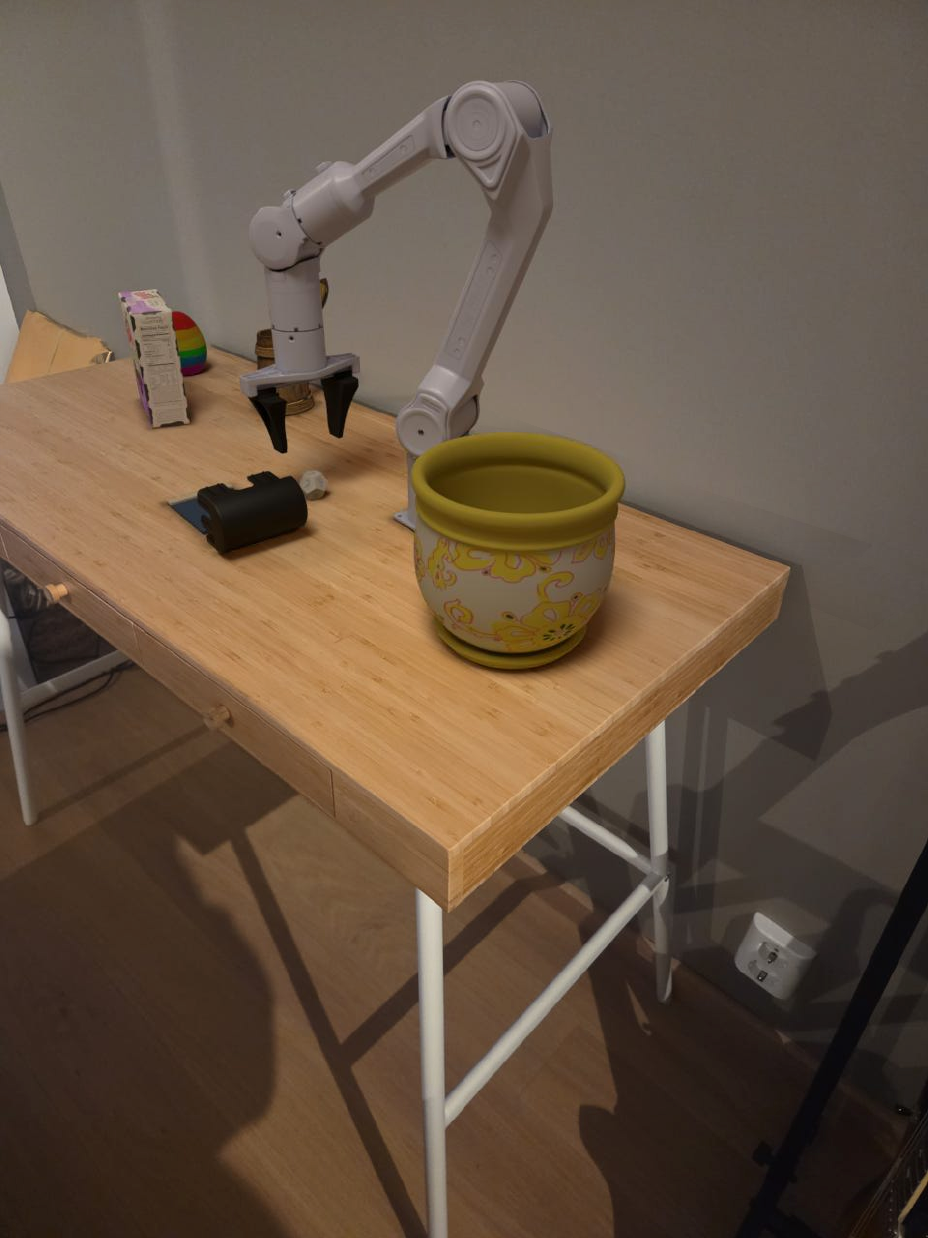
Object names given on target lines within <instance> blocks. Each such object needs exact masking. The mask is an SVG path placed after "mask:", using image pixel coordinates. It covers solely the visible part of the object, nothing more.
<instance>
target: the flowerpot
mask: <svg viewBox="0 0 928 1238" xmlns="http://www.w3.org/2000/svg"><path fill="white" fill-rule="evenodd" d="M410 478H411V485H412V488H413V490H414V492H415V494H416V497H415V508H416V511H417V516H416V523H415V531H414V530H413V531H414V532H413V565H414V572H415V577H416V578H415V579H416V581H417V585H418V588H419V591H420V593H421V596H422V598H423V600H424V602H425V604H426V605H427V607H428V609H429V610H430V611H431V613H432V614H433V625H434V628H435V631H436V633H437V635H438V636H439V637H440V639H441V640H442V641H443V642H444V643H445V644H446V645H448V646H449V647H450V648H451V649H453V651H454V652H455V653H457V654H458V655H460V656H462V657H463V658H465V659H467V660H468V661H471V662H473V663H476V664H478V665H481V666H485V667H488V668H494V669H501V670H502V669H503V670H525V669H532V668H538V667H541V666H545V665H547V664H550V663H552V662H555V661H557V660H558V659H560V658H561V657H563V656H564V655H565V654H568V653H569V652H571V651H572V650H574V648H575V647H577V646H578V645H579V644H580V642H581V641H582V640H583V638H584V636H585V635H586V631H587V623H588V622H589V621H590V619H592V617H593V616H594V615H595V614H596V612H597V610H598V609H599V607H600V606H601V604H602V602H603V601H604V599H605V596H606V594H607V592H608V589H609V587H610V583H611V579H612V575H613V572H614V571H613V570H614V563H615V556H616V525H615V524H616V523H615V522H616V520H617V517H618V514H619V503H620V501H621V500H622V498H623V496H624V495H625V490H626V477H625V474H624V471H623V469H622V468H621V466H620V465H619V464H618V463H617V462H616V461H615V460H614V459H613V458H611V457H610V456H609V455H607V454H606V453H604V451H601V450H599V449H597V448H595V447H593V446H590V445H588V444H585V443H583V442H579V441H576V440H573V439H569V438H564V437H560V436H555V435H551V434H550V435H549V434H543V433H533V432H521V431H520V432H519V431H518V432H517V431H514V432H513V431H503V432H484V433H476V434H471V435H469V436H464V437H460V438H456V439H452V440H449V441H446V442H443V443H441V444H438V445H436V446H434V447H432V448H430V449H429V450H427V451H426V452H424V453H423V454H422V455H421V456H420V457H419V458H418V459H417V460H416V461H415V463H414V465H413V467H412V470H411V477H410Z"/></svg>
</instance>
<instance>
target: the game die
mask: <svg viewBox="0 0 928 1238" xmlns="http://www.w3.org/2000/svg"><path fill="white" fill-rule="evenodd" d="M298 483H299V485H300V487H301V489H302V491H303V493H304V496H305V498H307V499H308V500H310V501H312V500H313V501H314V500H319V499H320V500H321V499H322V498H323V496H324V494H325V492H326V489H327V486H328V483H329V482H328V480H327V479H326V477H325V476H324V475H323V474H322V473H321V472H320V471H318V470H316V469H312V470H306V471H305V470H304V472H303V474H302V475H301V478H300V480H299V482H298Z"/></svg>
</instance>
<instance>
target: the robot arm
mask: <svg viewBox="0 0 928 1238" xmlns="http://www.w3.org/2000/svg"><path fill="white" fill-rule="evenodd" d="M553 132H554V127H553V124H552V121H551V120H550V118H549V115H548V112H547V111H546V108H545V105H544V104H543V101H542V99H541V96H540V95H539V93H538V92H537V91H536V89H534V88H533V86H531V85H529V84H528V83H527V82H525V81H521V80H519V79H510V80H504V81H502V82H490V81H487V80H472V81H470V82H467V83H465V84H463V85H462V86H460V87H459V88H458V89H457V90H456V91H455V92H454V93H453V94H451V95H450V94H448V95H445V96H444V97H442V98H439V99H437V100H436V101H434V102H433V103H432V104H431V105H429V106H428V107H427V108H425V109H424V110H423V111H421V112H420V113H419V114H418V115H417V116H415V117H414V118H413V119H412V120H410V121H409V122H408V123H406V124H405V125H404V126H403V127H402V128H400V129H399V130H398V131H396V132H395V133H394V134H393V135H392V136H391V137H389V138H388V139H387V140H385V141H383V143H381V145H379V146H378V147H377V148H375V149H374V150H373V151H372V152H370V153H369V154H368V155H367V156H365V157H364V158H363V159H362V160H360V161H359V162H358V163H356V164H352V163H351V162H349V161H348V162H347V161H344V160H337V161H335V162H334V163H333V161H331V160H329V161H323V162H321V163H320V164H319V165H317V166H316V167H315V172H316V173H317V175H316V176H314V178H312V179H311V180H309V181H308V182H307V183H305V184H304V185H302V186H301V187H300V188H299V189H295V188H293V189H288V190H287V191H285V192H284V193H283V196H282V197H283V199H284V200H283V202H282V205H279V206H278V205H277V206H274V205H267V206H262V207H260V208H259V209H258V211H257V213H256V214H255V215H254V216H253V218H252V219H251V220H250V223H249V228H248V241H249V245H250V248H251V250H252V252H253V254H254V257H256V259H257V260H258V261H259V262H260V263H261V264H262V265H263V272H264V280H265V288H266V299H267V308H268V314H269V315H268V316H269V323H270V328H271V331H272V340H273V349H274V357H275V364H273V365H271V366H268V367H265V368H263V369H260V370H258V371H257V370H255V371H252V372H250V373H246V374H242V375H239V376H238V381H239V387H240V393H241V394H242V395H244V396H246V397H247V399H248V400H249V401H250V403H251V404H252V406H253V407H254V409H255V410H256V412H257V414H258V415H259V417H260V418H261V420H262V423H263V424H264V426H265V429H266V431H267V433H268V435H269V438H270V442H271V445H272V447H273V449H274V451H276V452H278V453H279V454H282V455H283V454H284V455H285V454H287V453H288V449H289V448H288V447H289V446H288V445H289V444H288V437H287V429H286V416H287V415H286V405H287V401H286V400H285V399H283V398H281V397H280V396H279V393H277V392H276V389H280V388H284V387H289V386H293V385H298V384H302V383H307V382H309V383H310V382H315V381H319V382H320V386H321V389H322V394H323V398H324V402H325V409H326V411H325V412H326V422H327V428H328V433H329V435H331V436H333V437H335V438H337V439H342V438H344V432H345V426H346V422H347V417H348V413H349V410H350V407H351V403H352V401H353V399H354V397H355V394H356V392H357V391H358V389H359V386H360V385H359V383H360V382H359V378H358V377H356V376H354V374H360V373H361V358H360V357H361V356H360V355H357V354H354V353H352V352H347V353H340V354H330V355H329V354H328V355H327V352H326V338H325V330H324V328H325V327H324V318H323V317H324V316H323V309H322V303H321V291H320V279H321V278H320V273H321V265H320V264H321V257H322V256H323V254H324V253H325V250H326V248H327V247H328V246H329V245H331V244H333V243H335V242H336V241H337V240H339V239H340V238H342V237H343V236H345V235H346V234H348V233H349V232H351V231H352V230H354V229H355V228H357V227H358V226H360V225H361V224H362V223H364V222H365V221H367V220H369V219H370V218H371V217H372V215H373V212H374V208H375V201H376V197H377V196H379V195H380V194H382V193H384V192H385V191H388V190H389V189H390V188H392V187H394V186H395V185H396V184H398V183H400V182H401V181H403V180H404V179H406V178H408V177H410V176H411V175H413V174H415V173H416V172H417V171H419V170H421V169H422V168H424V167H425V166H427V165H429V164H430V163H432V162H433V161H436V160H450V159H454V158H455V159H456V158H457V160H458V162H460V164H462V166H463V167H464V168H465V169H466V171H467V172H468V173H469V174H470V176H471V177H472V178H473V179H474V181H475V182H476V183H477V184H478V185H479V187H480V189H481V191H482V194H483V195H484V198H485V200H486V202H487V205H488V207H489V209H490V213H491V214H490V218H489V221H488V223H487V226H486V227H485V228H486V229H485V231H484V234H483V236H482V238H481V241H480V244H479V247H478V249H477V251H476V254H475V257H474V260H473V262H472V265H471V267H470V270H469V272H468V275H467V277H466V279H465V283H464V285H463V288H462V290H461V293H460V295H459V298H458V300H457V303H456V306H455V309H454V311H453V314H452V316H451V319H450V321H449V323H448V325H447V326H448V327H447V328H446V332H445V335H444V337H443V340H442V342H441V345H440V347H439V350H438V353H437V355H436V357H435V360H434V363H433V365H432V366H431V368H430V369H429V371H428V372H427V374H426V375H425V377H424V378H423V379H422V380H421V382H420V384H419V385H418V387H417V389H416V391H415V394H414V396H413V398H412V399H411V401H410V402H409V403H407V404H406V405H405V406H403V407H402V408H401V410H399V412H398V414H397V417H396V419H395V434H396V438H397V440H398V442H399V443H400V445H401V447H402V448H403V450H404V451H406V467H407V468H406V471H407V472H406V473H407V477H406V479H407V509H406V508H405V509H403V510H401V511H398V512H394V513H393V517H392V518H393V519H394V520H396V521H397V522H399V523H401V524H403V525H404V526H405V527H407V528H408V529H410V530H412V531H415V523H416V516H417V511H416V508H415V497H416V494H415V492H414V490H413V488H412V485H411V478H410V477H411V470H412V467H413V465H414V463H415V461H416V460H417V459H418V458H419V457H420V456H421V455H422V454H423V453H424V452H426V451H427V450H429V449H430V448H432V447H434V446H436V445H438V444H441V443H443V442H446V441H449V440H452V439H456V438H460V437H464V436H470V434H471V433H470V432H471V430H472V429H473V428H474V427H475V426H476V424H477V422H478V420H479V417H480V413H481V408H480V407H481V405H480V397H481V393H482V390H483V389H484V386H485V381H484V379H483V377H482V376H483V373H484V371H485V369H486V366H487V364H488V362H489V360H490V358H491V355H492V353H493V350H494V347H495V346H496V344H497V341H498V339H499V337H500V334H501V333H502V330H503V328H504V326H505V323H506V321H507V318H508V315H509V313H510V311H511V309H512V307H513V304H514V301H515V300H516V297H517V295H518V293H519V291H520V288H521V285H522V283H523V281H524V279H525V276H526V274H527V272H528V270H529V267H530V265H531V262H532V260H533V258H534V256H535V254H536V251H537V248H538V246H539V244H540V242H541V239H542V238H543V234H544V233H545V230H546V228H547V226H548V223H549V221H550V219H551V216H552V212H553V208H554V194H553V193H554V192H553V178H552V177H553V176H552V161H551V159H552V157H551V144H552V139H553Z"/></svg>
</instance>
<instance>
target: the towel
mask: <svg viewBox="0 0 928 1238" xmlns="http://www.w3.org/2000/svg"><path fill="white" fill-rule="evenodd" d="M224 484H225V485H226V486H227V487H229V488H231V489H234V487H233V485H232V484H231V483H229V482H225V483H224ZM198 491H199V490H197V491H194V492H193V491H192V492H190V493H186V494H182V495H179V496H175V497H171V498H168V499H166V505H168V506H169V507H170V508H171V509H172V510H173V511H175V512H176V513H177V514H178V515H179V516H181V517H182V518H183V519H184V520H186V521H187V522H188V523H189V524H190V525H191V526H192V527H194V528H195V529H196V530H198V531H199V532H200V533H201V534H202V535H207V534H210V532H209V531H207V530H206V529H205V528H204V527H203V525H202V522H201V521H200V520H201V515H205V516H206V517H208V518H209V519H210V515H209V513H208V512H207V511H205V510H204V509H203V508H202V507H201V506H200V505H199V504H198V503H197V500H198V497H197V493H198ZM210 520H211V519H210Z"/></svg>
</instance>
